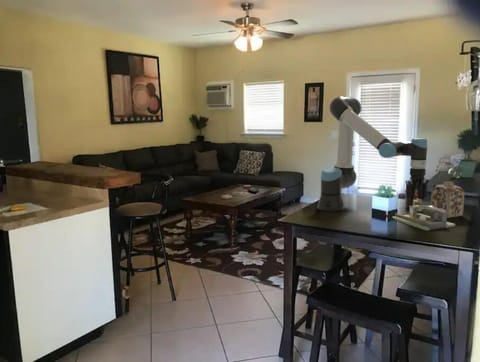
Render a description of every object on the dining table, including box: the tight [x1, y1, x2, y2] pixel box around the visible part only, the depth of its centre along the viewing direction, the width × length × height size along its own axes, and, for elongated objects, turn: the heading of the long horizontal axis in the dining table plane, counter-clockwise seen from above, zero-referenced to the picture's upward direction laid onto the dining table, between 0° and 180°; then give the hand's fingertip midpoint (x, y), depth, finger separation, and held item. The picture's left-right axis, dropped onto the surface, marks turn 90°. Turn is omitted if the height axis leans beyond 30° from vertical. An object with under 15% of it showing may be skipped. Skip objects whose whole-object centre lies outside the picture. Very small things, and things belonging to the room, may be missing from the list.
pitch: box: [391, 211, 456, 231], centre depth 195 cm, size 23×18×3 cm
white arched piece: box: [409, 200, 446, 219], centre depth 197 cm, size 21×10×7 cm, turn 20°
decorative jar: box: [429, 181, 465, 219], centre depth 208 cm, size 12×12×18 cm
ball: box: [419, 214, 426, 221], centre depth 192 cm, size 3×3×3 cm
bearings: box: [430, 211, 448, 222], centre depth 192 cm, size 7×3×6 cm, turn 20°
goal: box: [420, 218, 447, 231], centre depth 186 cm, size 6×10×3 cm, turn 110°
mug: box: [404, 189, 419, 210], centre depth 224 cm, size 12×9×10 cm
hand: (415, 211), depth 206 cm, fingers closed on white arched piece, 4 cm apart
